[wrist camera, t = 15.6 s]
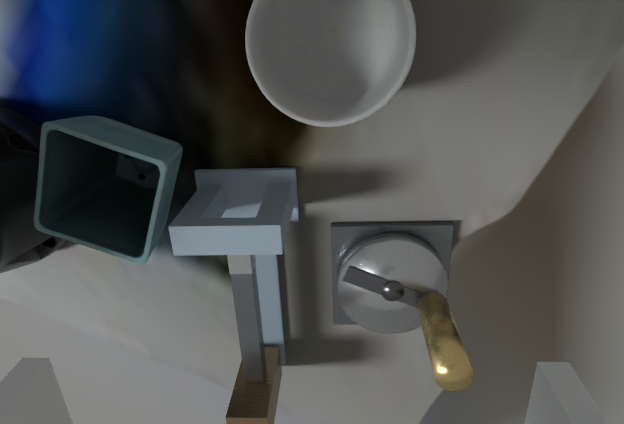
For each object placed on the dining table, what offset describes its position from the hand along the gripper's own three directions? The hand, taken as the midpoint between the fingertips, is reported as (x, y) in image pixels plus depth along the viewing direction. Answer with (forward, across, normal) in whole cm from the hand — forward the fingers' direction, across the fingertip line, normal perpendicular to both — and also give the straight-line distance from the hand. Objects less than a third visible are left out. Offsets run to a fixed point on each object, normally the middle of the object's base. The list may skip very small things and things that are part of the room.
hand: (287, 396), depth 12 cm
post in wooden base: (+28, -7, -17) cm, 33 cm away
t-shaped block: (+29, -7, -14) cm, 33 cm away
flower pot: (+29, -16, -2) cm, 33 cm away
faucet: (+27, +6, -14) cm, 32 cm away
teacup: (+29, 0, +9) cm, 30 cm away
